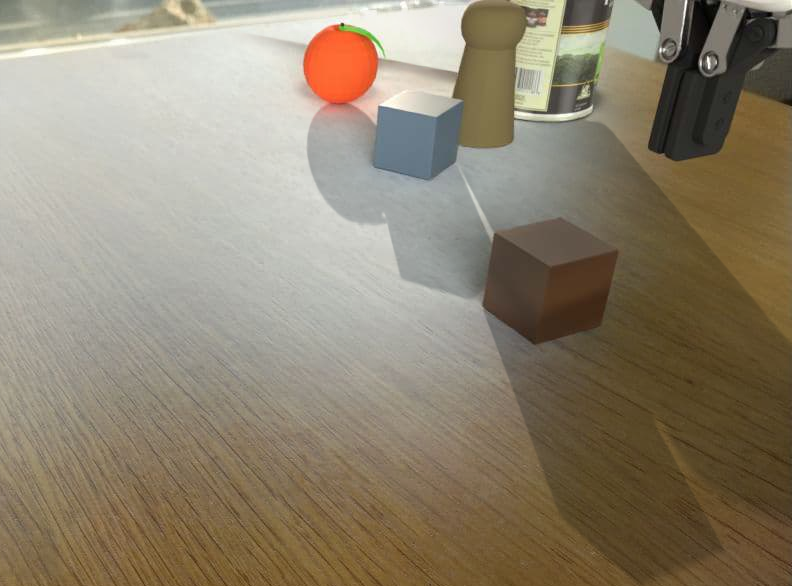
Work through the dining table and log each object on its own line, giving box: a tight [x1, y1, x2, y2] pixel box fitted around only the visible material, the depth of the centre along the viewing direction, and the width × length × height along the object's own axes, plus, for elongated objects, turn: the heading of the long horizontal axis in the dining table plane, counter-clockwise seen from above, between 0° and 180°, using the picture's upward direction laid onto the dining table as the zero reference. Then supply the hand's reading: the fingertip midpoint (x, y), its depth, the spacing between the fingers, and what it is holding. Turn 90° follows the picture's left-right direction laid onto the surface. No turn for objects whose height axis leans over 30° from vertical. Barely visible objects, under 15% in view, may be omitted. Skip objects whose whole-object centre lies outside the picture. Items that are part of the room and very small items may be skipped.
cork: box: [451, 0, 527, 149], centre depth 82 cm, size 6×6×11 cm
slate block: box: [373, 88, 464, 181], centre depth 78 cm, size 5×5×5 cm
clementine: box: [302, 22, 387, 105], centre depth 90 cm, size 8×7×7 cm
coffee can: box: [506, 0, 615, 123], centre depth 88 cm, size 10×10×14 cm
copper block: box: [482, 216, 620, 345], centre depth 58 cm, size 5×5×5 cm
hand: (683, 151), depth 46 cm, fingers closed
